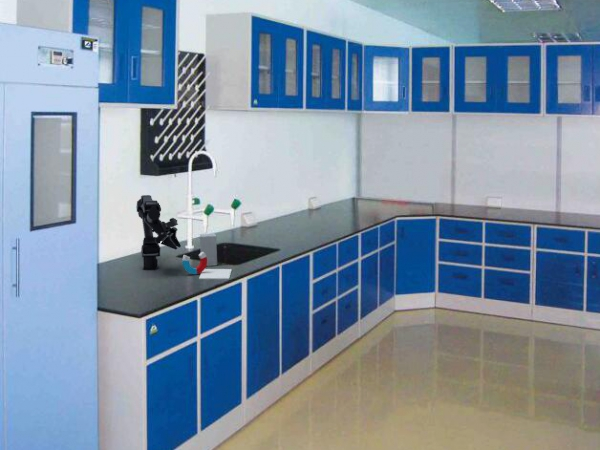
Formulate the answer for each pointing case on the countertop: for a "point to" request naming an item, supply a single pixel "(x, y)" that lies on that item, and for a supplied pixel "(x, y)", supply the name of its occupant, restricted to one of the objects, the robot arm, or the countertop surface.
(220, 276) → the white paper sheet
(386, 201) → the countertop surface
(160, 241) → the robot arm
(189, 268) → the magnet
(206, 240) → the skincare box
